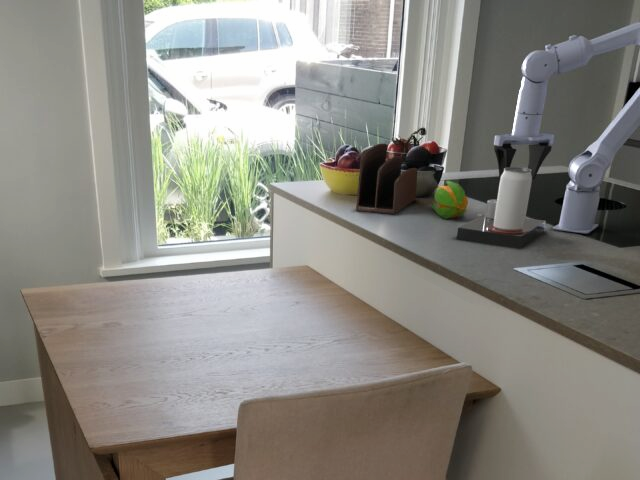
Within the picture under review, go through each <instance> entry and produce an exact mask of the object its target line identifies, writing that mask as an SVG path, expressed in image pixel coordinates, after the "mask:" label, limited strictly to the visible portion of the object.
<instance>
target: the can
mask: <svg viewBox="0 0 640 480" xmlns="http://www.w3.org/2000/svg"><path fill="white" fill-rule="evenodd" d="M532 183H533V179H532V176H531V169H528V167H519V166H510V167H507V168H504V172H503V174H502V175H501V179H499V185H498V191H497V197H496V200H497V204H496V210H495V217H494V224H493V226H494V228H496V229H498V230H503V231H520V230H522V228H524V223H525V218H526V217H527V211H528V207H529V199H530V195H531V194H530V193H531V188H532Z"/></svg>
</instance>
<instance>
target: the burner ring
mask: <svg viewBox="0 0 640 480" xmlns="http://www.w3.org/2000/svg"><path fill="white" fill-rule="evenodd" d="M487 229H488V230H490V231H493V232H497V233H504V234H522V233H527V232H529V228H527V227H525V226H524V228H522V230H520V231H503V230H498V229H496V228H494V226H493V224H491V225H488V226H487Z"/></svg>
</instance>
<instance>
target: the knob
mask: <svg viewBox="0 0 640 480" xmlns="http://www.w3.org/2000/svg"><path fill="white" fill-rule="evenodd" d="M496 204H497V198H495V199H488V200H487V201H486V206H485V213H484V214H485V217H486V218H490V219H494V217H495V210H496Z"/></svg>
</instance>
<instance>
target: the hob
mask: <svg viewBox="0 0 640 480" xmlns="http://www.w3.org/2000/svg"><path fill="white" fill-rule="evenodd" d="M476 216H478V217H476V218H474V219H472V220H470V221H467V222H466V223H464V224H462V225H460V226H458V227H457V232H456V240H460V241H467V242H474V243H480V244H487V245H493V246H499V247H506V248H514V249H520V248H522V247H523V246H525V245H526V244H528V243H530V242H531V241H532V240H534V239H535V238H537V237H539V236H540V235H542V234H543V233H545V228H546V225H547V224H546V223H547V221H546V220H542V219H535V218H528V217H527V218H526V217H525V223H524V226H525V227H527V228H529V232H527V233H522V234H504V233H497V232H493V231H490V230H488V229H487V226H488V225H491V224H494V219H490V218H486V217H485V213H484V214H479V213H477V214H476Z"/></svg>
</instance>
